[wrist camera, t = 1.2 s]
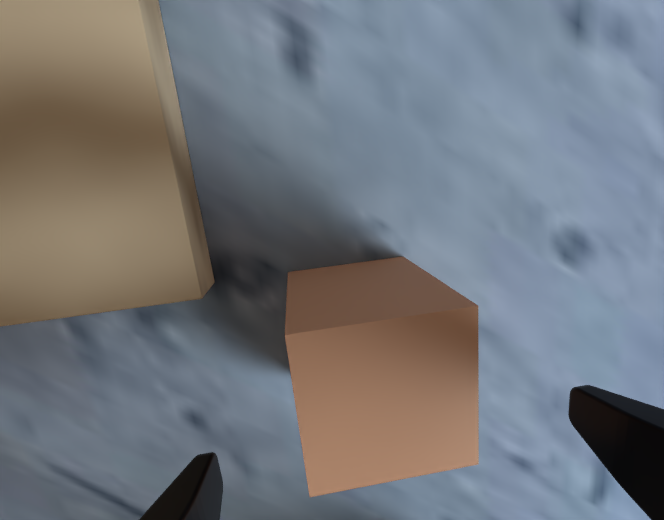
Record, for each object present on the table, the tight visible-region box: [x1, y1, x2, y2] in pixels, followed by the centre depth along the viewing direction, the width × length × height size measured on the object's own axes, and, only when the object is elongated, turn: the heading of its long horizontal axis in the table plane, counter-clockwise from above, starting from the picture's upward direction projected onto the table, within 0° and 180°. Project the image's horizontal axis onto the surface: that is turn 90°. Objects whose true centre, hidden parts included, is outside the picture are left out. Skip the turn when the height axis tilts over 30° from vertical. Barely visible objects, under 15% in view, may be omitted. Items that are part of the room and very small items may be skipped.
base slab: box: [0, 0, 215, 326], centre depth 11 cm, size 11×11×2 cm
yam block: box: [285, 257, 478, 497], centre depth 12 cm, size 5×5×6 cm
